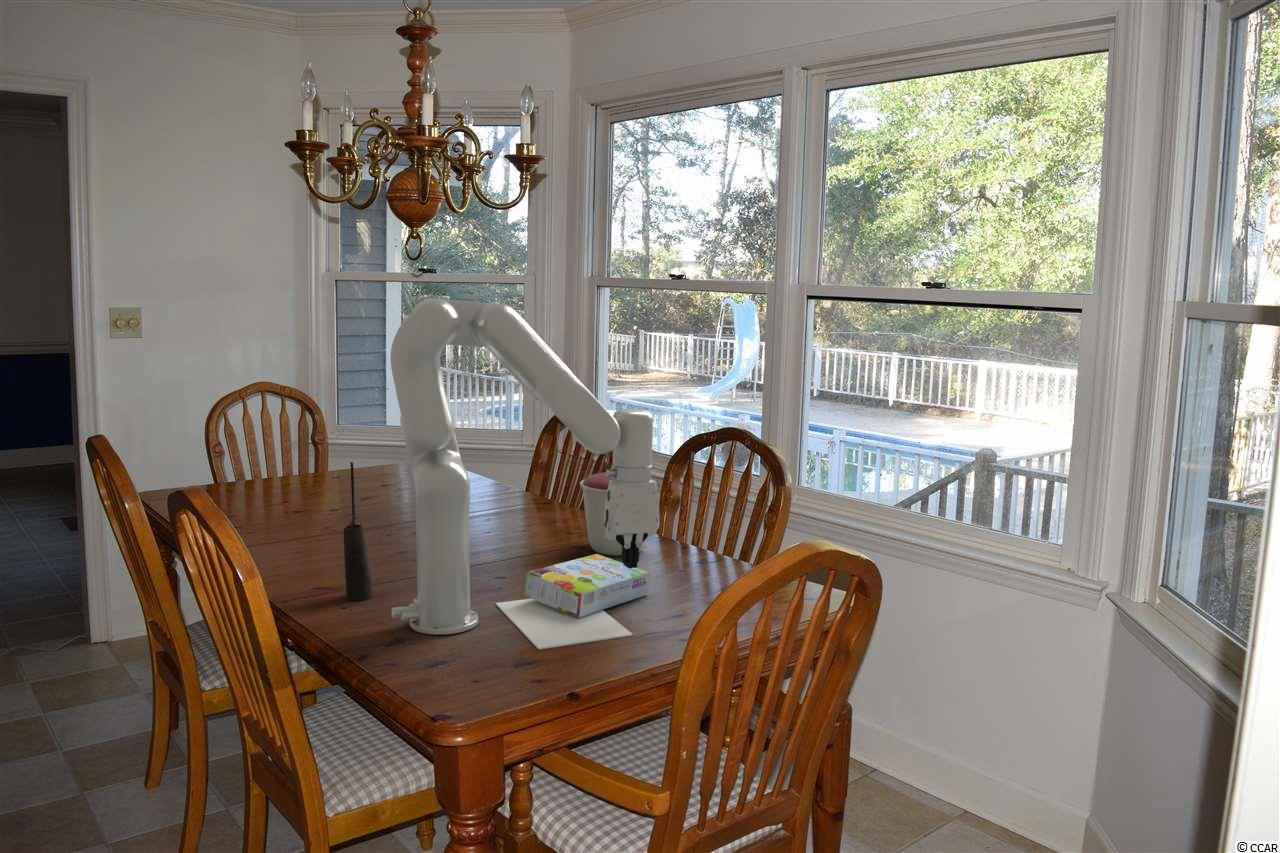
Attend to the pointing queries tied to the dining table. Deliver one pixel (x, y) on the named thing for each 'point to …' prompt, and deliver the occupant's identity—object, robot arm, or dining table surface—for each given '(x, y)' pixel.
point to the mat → (560, 624)
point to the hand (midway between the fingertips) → (630, 566)
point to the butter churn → (356, 558)
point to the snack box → (586, 585)
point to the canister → (599, 514)
